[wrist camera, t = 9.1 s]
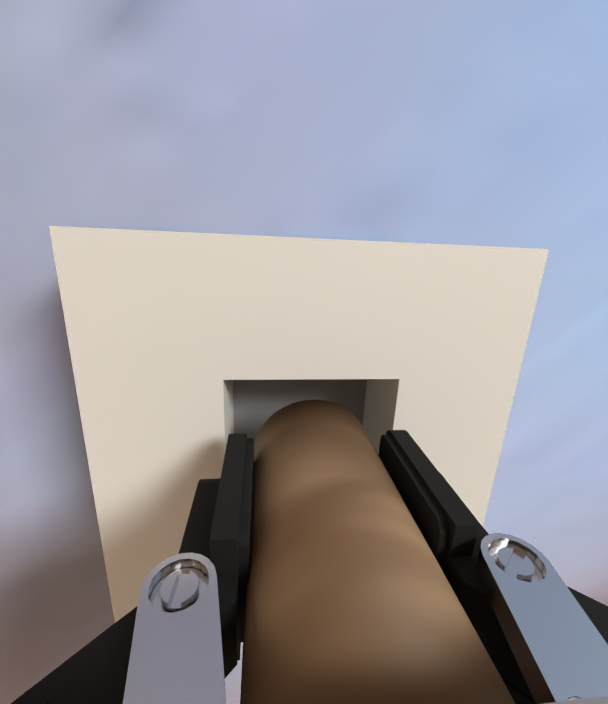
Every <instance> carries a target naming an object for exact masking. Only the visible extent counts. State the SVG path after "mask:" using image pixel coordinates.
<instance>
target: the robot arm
mask: <svg viewBox="0 0 608 704" xmlns="http://www.w3.org/2000/svg"><path fill="white" fill-rule="evenodd" d="M379 457H380V459H381V461H382V462H383V464H384V466H385V468H386V470H387V471H388V473H389V475H390V477H391V479H392V481H393V482H394V484H395V486H396V488H397V490H398V491H399V493H400V495H401V497H402V499H403V500H404V502H405V504H406V506H407V508H408V510H409V511H410V513H411V515H412V517H413V519H414V520H415V522H416V524H417V526H418V528H419V529H420V531H421V533H422V535H423V537H424V538H425V540H426V542H427V544H428V546H429V548H430V549H431V551H432V553H433V555H434V557H435V558H436V560H437V562H438V564H439V566H440V567H441V569H442V571H443V573H444V575H445V577H446V578H447V580H448V582H449V584H450V586H451V587H452V589H453V591H454V593H455V595H456V596H457V598H458V600H459V602H460V604H461V605H462V607H463V609H464V611H465V613H466V615H467V616H468V618H469V620H470V622H471V624H472V625H473V627H474V629H475V631H476V633H477V634H478V636H479V638H480V640H481V642H482V644H483V645H484V647H485V649H486V651H487V653H488V654H489V656H490V658H491V660H492V662H493V663H494V665H495V667H496V669H497V671H498V673H499V674H500V676H501V678H502V680H503V682H504V683H505V685H506V687H507V689H508V691H509V692H510V694H511V696H512V698H513V700H514V701H515V703H516V704H608V606H606V605H604V604H602V603H600V602H598V601H596V600H594V599H592V598H589V597H587V596H585V595H583V594H581V593H579V592H577V591H575V590H573V589H571V588H569V587H567V586H566V585H565V583H564V582H563V580H562V579H561V577H560V576H559V575H558V573H557V572H556V570H555V569H554V567H553V566H552V565H551V563H550V562H549V561H548V559H547V558H546V557H545V556H544V555H543V554H542V553H541V552H540V551H539V550H537V549H536V548H535V547H534V546H532V545H531V544H529V543H527V542H525V541H524V540H522V539H519V538H517V537H514V536H512V535H507V534H502V533H494V534H490V535H489V534H488V533H487V532H486V530H485V529H484V528H483V527H482V525H481V524H480V523H479V522H478V520H477V519H476V518H475V516H474V515H473V514H472V513H471V511H470V510H469V509H468V507H467V506H466V505H465V504H464V502H463V501H462V500H461V499H460V497H459V496H458V495H457V493H456V492H455V491H454V490H453V488H452V487H451V486H450V484H449V483H448V482H447V481H446V479H445V478H444V477H443V476H442V474H441V473H440V472H439V471H438V470H437V469H436V468H435V466H434V465H433V464H432V463H431V461H430V460H429V459H428V457H427V456H426V455H425V454H424V452H423V451H422V450H421V448H420V447H419V446H418V445H417V443H416V442H415V441H414V439H413V438H412V437H411V436H410V434H409V433H408V432H407V431H406V430H388V431H387V432H386V435H382V436H381V439H380V446H379ZM253 470H254V438H247V433H241V434H229V435H228V440H227V446H226V451H225V456H224V462H223V467H222V473H221V478H218V479H200V480H199V482H198V485H197V488H196V492H195V495H194V499H193V503H192V506H191V510H190V514H189V517H188V521H187V525H186V528H185V532H184V535H183V539H182V543H181V546H180V550H179V554H178V555H175V556H172V557H169V558H167V559H166V560H164V561H162V562H160V563H159V564H158V565H157V566H156V567H155V568H153V569H152V570H151V571H150V572H149V574H148V575H147V577H146V578H145V580H144V581H143V584H142V587H141V590H140V593H139V600H138V606H136V607H135V608H134V609H133V610H131V611H130V612H129V613H127V614H126V615H125V616H123V617H122V618H121V619H120V620H118V621H117V622H116V623H114V624H113V625H112V626H111V627H109V628H108V629H107V630H105V631H104V632H103V633H102V634H100V635H99V636H98V637H96V638H95V639H94V640H92V641H91V642H90V643H89V644H87V645H86V646H85V647H83V648H82V649H81V650H80V651H78V652H77V653H76V654H74V655H73V656H72V657H70V658H69V659H68V660H67V661H65V662H64V663H63V664H61V665H60V666H59V667H58V668H56V669H55V670H54V671H52V672H51V673H50V674H48V675H47V676H46V677H45V678H43V679H42V680H41V681H39V682H38V683H37V684H36V685H34V686H33V687H32V688H30V689H29V690H28V691H26V692H25V693H24V694H23V695H21V696H20V697H19V698H17V699H16V700H15V701H14V702H12V703H11V704H226V693H225V678H226V677H227V675H228V674H229V673H230V672H231V671H232V670H233V668H234V667H235V666H236V665H237V660H240V644H241V642H243V639H244V619H245V599H246V588H247V584H248V580H249V564H250V540H251V517H252V493H253Z"/></svg>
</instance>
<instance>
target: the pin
mask: <svg viewBox="0 0 608 704" xmlns="http://www.w3.org/2000/svg"><path fill="white" fill-rule="evenodd" d="M240 704H516V703H515V701H514V700H513V698H512V696H511V694H510V692H509V691H508V689H507V687H506V685H505V683H504V682H503V680H502V678H501V676H500V674H499V673H498V671H497V669H496V667H495V665H494V663H493V662H492V660H491V658H490V656H489V654H488V653H487V651H486V649H485V647H484V645H483V644H482V642H481V640H480V638H479V636H478V634H477V633H476V631H475V629H474V627H473V625H472V624H471V622H470V620H469V618H468V616H467V615H466V613H465V611H464V609H463V607H462V605H461V604H460V602H459V600H458V598H457V596H456V595H455V593H454V591H453V589H452V587H451V586H450V584H449V582H448V580H447V578H446V577H445V575H444V573H443V571H442V569H441V567H440V566H439V564H438V562H437V560H436V558H435V557H434V555H433V553H432V551H431V549H430V548H429V546H428V544H427V542H426V540H425V538H424V537H423V535H422V533H421V531H420V529H419V528H418V526H417V524H416V522H415V520H414V519H413V517H412V515H411V513H410V511H409V510H408V508H407V506H406V504H405V502H404V500H403V499H402V497H401V495H400V493H399V491H398V490H397V488H396V486H395V484H394V482H393V481H392V479H391V477H390V475H389V473H388V471H387V470H386V468H385V466H384V464H383V462H382V461H381V459H380V457H379V455H378V453H377V452H376V450H375V448H374V446H373V444H372V442H371V441H370V439H369V437H368V435H367V433H366V432H365V430H364V428H363V426H362V425H361V423H360V421H359V420H358V419H357V418H356V416H355V415H354V414H353V413H351V412H350V411H349V410H348V409H346V408H344V407H343V406H341V405H339V404H336V403H333V402H330V401H325V400H304V401H299V402H295V403H292V404H290V405H287V406H285V407H283V408H281V409H280V410H278V411H277V412H275V413H274V414H273V415H272V416H270V417H269V418H268V419H267V420H266V421H265V423H264V424H263V425H262V427H261V428H260V430H259V432H258V434H257V436H256V439H255V442H254V470H253V493H252V517H251V540H250V564H249V580H248V584H247V588H246V599H245V619H244V639H243V659H242V679H241V699H240Z"/></svg>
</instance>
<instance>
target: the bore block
mask: <svg viewBox="0 0 608 704" xmlns="http://www.w3.org/2000/svg"><path fill="white" fill-rule="evenodd" d="M49 228H50V234H51V240H52V246H53V252H54V258H55V264H56V270H57V276H58V283H59V289H60V295H61V301H62V307H63V313H64V319H65V325H66V331H67V337H68V343H69V349H70V355H71V361H72V367H73V373H74V379H75V385H76V392H77V398H78V404H79V410H80V416H81V422H82V428H83V434H84V440H85V446H86V452H87V458H88V464H89V470H90V476H91V482H92V488H93V495H94V501H95V507H96V513H97V519H98V525H99V531H100V537H101V543H102V549H103V555H104V561H105V567H106V573H107V579H108V585H109V591H110V597H111V604H112V610H113V616H114V622H115V623H116V622H117V621H118V620H120V619H121V618H122V617H123V616H125V615H126V614H127V613H129V612H130V611H131V610H133V609H134V608H135V607H136V606H138V600H139V593H140V590H141V587H142V584H143V581H144V580H145V578H146V577H147V575H148V574H149V572H150V571H151V570H152V569H153V568H155V567H156V566H157V565H158V564H159V563H160V562H162V561H164V560H166V559H167V558H169V557H172V556H175V555H178V554H179V550H180V546H181V543H182V539H183V535H184V532H185V528H186V525H187V521H188V517H189V514H190V510H191V506H192V503H193V499H194V495H195V492H196V488H197V485H198V482H199V480H200V479H218V478H221V473H222V467H223V462H224V456H225V451H226V446H227V440H228V435H229V434H241V433H247V438H254V442H255V439H256V436H257V434H258V432H259V430H260V428H261V427H262V425H263V424H264V423H265V421H266V420H267V419H268V418H269V417H270V416H272V415H273V414H274V413H275V412H277V411H278V410H280V409H281V408H283V407H285V406H287V405H290V404H292V403H295V402H299V401H304V400H325V401H330V402H333V403H336V404H339V405H341V406H343V407H344V408H346V409H348V410H349V411H350V412H351V413H353V414H354V415H355V416H356V418H357V419H358V420H359V421H360V423H361V425H362V426H363V428H364V430H365V432H366V433H367V435H368V437H369V439H370V441H371V442H372V444H373V446H374V448H375V450H376V452H377V453H378V455H379V446H380V439H381V436H382V435H386V432H387V431H388V430H406V431H407V432H408V433H409V434H410V436H411V437H412V438H413V439H414V441H415V442H416V443H417V445H418V446H419V447H420V448H421V450H422V451H423V452H424V454H425V455H426V456H427V457H428V459H429V460H430V461H431V463H432V464H433V465H434V466H435V468H436V469H437V470H438V471H439V472H440V473H441V474H442V476H443V477H444V478H445V479H446V481H447V482H448V483H449V484H450V486H451V487H452V488H453V490H454V491H455V492H456V493H457V495H458V496H459V497H460V499H461V500H462V501H463V502H464V504H465V505H466V506H467V507H468V509H469V510H470V511H471V513H472V514H473V515H474V516H475V518H476V519H477V520H478V522H479V523H480V524H481V525H482V527H483V524H484V520H485V515H486V511H487V507H488V503H489V499H490V495H491V490H492V486H493V482H494V478H495V474H496V469H497V465H498V461H499V457H500V453H501V448H502V444H503V440H504V436H505V432H506V427H507V423H508V419H509V415H510V411H511V407H512V402H513V398H514V394H515V390H516V386H517V381H518V377H519V373H520V369H521V365H522V360H523V356H524V352H525V348H526V344H527V339H528V335H529V331H530V327H531V323H532V319H533V314H534V310H535V306H536V302H537V298H538V293H539V289H540V285H541V281H542V277H543V272H544V268H545V264H546V260H547V256H548V252H549V249H532V248H510V247H489V246H467V245H446V244H425V243H403V242H382V241H360V240H339V239H317V238H296V237H274V236H253V235H231V234H210V233H189V232H167V231H146V230H124V229H103V228H81V227H60V226H49Z"/></svg>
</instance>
